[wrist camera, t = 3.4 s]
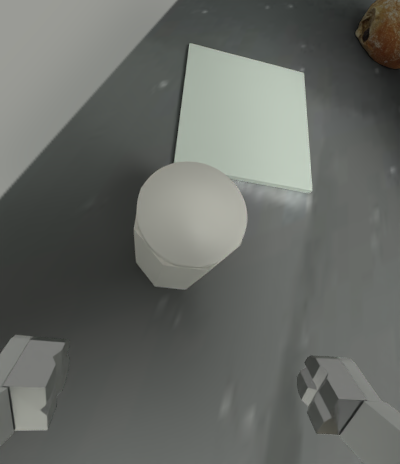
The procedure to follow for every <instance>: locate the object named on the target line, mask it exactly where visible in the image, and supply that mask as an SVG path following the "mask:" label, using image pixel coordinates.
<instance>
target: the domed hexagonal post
mask: <svg viewBox="0 0 400 464" xmlns="http://www.w3.org/2000/svg"><path fill="white" fill-rule="evenodd" d="M246 226H247V209H246V204H245V201H244V198H243V196H242V194H241V192H240V191H239V189H238V187H237V186H236V185H235V184H234V182H233V181H232V180H231V179H230V178H229V177H228V176H226V175H225V174H224V173H222V172H221V171H219V170H218V169H216V168H214V167H212V166H209V165H206V164H203V163H199V162H189V161H185V162H177V163H172V164H169V165H167V166H164V167H162V168H160V169H159V170H157V171H156V172H154V173H153V174H152V175H151V176H150V177H149V178H148V179H147V181H146V182H145V183H144V185H143V186H142V187H141V190H140V193H139V196H138V200H137V213H136V219H135V224H134V242H135V258H136V263H137V264H138V266H139V267H140V268H141V269H142V271H143V272H144V273H145V275H146V276H147V277H148V278H149V280H150V281H151V282H152V284H153V285H154V286H155V287H164V288H174V289H183V290H186V289H187V288H188V287H190V286H191V285H192V284H194V283H195V282H196V281H197V280H199V279H200V278H201V277H203V276H204V275H205V274H206V273H208V272H209V271H210V270H211V269H212V268H214V267H215V266H216V265H217V264H218V263H220V262H221V261H222V260H223V259H224V258H226V257H227V256H228V255H229V254H231V253H232V252H233V251H234V250H235V249H236V248H237V247H239V246H240V245H241V244H242V238H243V236H244V233H245V230H246Z"/></svg>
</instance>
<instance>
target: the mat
mask: <svg viewBox="0 0 400 464" xmlns="http://www.w3.org/2000/svg"><path fill="white" fill-rule="evenodd" d="M185 161H189V162H199V163H203V164H206V165H209V166H212V167H214V168H216V169H218V170H219V171H221V172H222V173H224V174H225V175H226V176H228V177H229V178H230V179H233V180H238V181H244V182H249V183H255V184H260V185H266V186H271V187H277V188H282V189H288V190H293V191H299V192H304V193H310V192H311V191H312V179H311V165H310V151H309V137H308V124H307V110H306V96H305V82H304V73H302V72H298V71H294V70H290V69H287V68H283V67H279V66H275V65H271V64H268V63H264V62H260V61H256V60H252V59H249V58H245V57H241V56H237V55H233V54H230V53H226V52H222V51H218V50H214V49H211V48H207V47H203V46H199V45H196V44H192V43H190V44H189V50H188V58H187V65H186V73H185V81H184V88H183V96H182V104H181V112H180V119H179V127H178V135H177V143H176V150H175V158H174V163H177V162H185Z"/></svg>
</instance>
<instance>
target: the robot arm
mask: <svg viewBox="0 0 400 464" xmlns="http://www.w3.org/2000/svg"><path fill="white" fill-rule="evenodd" d="M69 348H70V342H69V340H68V339H58V338H48V337H37V336H24V335H15V336H14V337H12V338H11V339H10V340H9V342H8V343H7V345H6V346H5V348H4V349H3V351H2V352H1V353H0V446H1V445H2V444H3V443H4V442H5V441H6V440H7V439H8V438H9V437H10V436H11V435H12V434H13V433H14V431H25V430H48V428H49V425H50V423H51V420H52V417H53V415H54V412H55V410H56V407H57V395H58V394H59V393H61V392H62V391H63V388H64V385H65V383H66V379H67V375H68V371H69V364H70V358H69V357H68V356H67V353H68V351H69ZM304 363H305V365H306V367H305V368H304V369H302V370H301V371H300V372H299V375H298V377H297V389H298V393H299V395H300V398H301V400H302V401H303V402H304V403H305V404H306V405H307V406H308V411H307V414H308V416H309V418H310V421H311V423H312V425H313V428H314V430H315V432H316V434H328V435H340V436H339V437H340V438H341V439H342V440H343V441H344V442H345V444H346V445H347V446H348V447H349V448H350V449H351V450H352V451H353V453H354V454H355V455H356V456H357V457H358V458H359V459H360V460H361V462H362V463H363V464H400V412H398V411H397V410H396V409H394V408H393V407H392V406H391V405H389V404H388V403H387V402H382V401H381V400H380V398H379V397H378V395H377V394H376V392H375V391H374V390H373V388H372V387H371V385H370V384H369V382H368V381H367V380H366V378H365V377H364V375H363V374H362V373H361V371H360V370H359V368H358V367H357V365H356V364H355V363H354V361H353V360H351V359H350V358H343V357H330V356H312V355H311V356H309V357H307V359H306V361H305V362H304Z"/></svg>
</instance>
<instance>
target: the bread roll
mask: <svg viewBox="0 0 400 464" xmlns="http://www.w3.org/2000/svg"><path fill="white" fill-rule="evenodd" d="M355 35H356V36H357V37H358V39H359V41H360V43H361V44H362V46H363V48H364V49H365V50H366V51H367V52H368V54H369V56H370V57H371V58H372V59H373V60H374V61H376V62H377V63H379V64H381V65H383V66H386V67H389V68H393V69H397V68H400V0H377V1H376V2H374V3H373V4H372V5H371V6H370V8H369V9H368V11H367V12H366V13H365V15H364V17H363V18H362V20H361V21H360V23H359V27H358V29H357V30H356V32H355Z"/></svg>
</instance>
